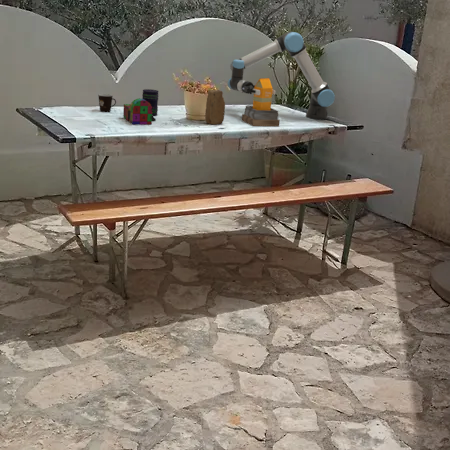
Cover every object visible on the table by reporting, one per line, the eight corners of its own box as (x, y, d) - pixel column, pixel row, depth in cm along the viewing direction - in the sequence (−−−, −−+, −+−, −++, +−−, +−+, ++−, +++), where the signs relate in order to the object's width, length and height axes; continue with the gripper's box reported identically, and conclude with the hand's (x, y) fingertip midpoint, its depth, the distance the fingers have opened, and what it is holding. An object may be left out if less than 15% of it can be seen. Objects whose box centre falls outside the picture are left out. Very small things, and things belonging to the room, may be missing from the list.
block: (208, 124, 360) (211, 91, 353) (203, 122, 367) (206, 89, 360) (224, 124, 365) (227, 91, 358) (219, 122, 371) (222, 89, 364)
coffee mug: (95, 110, 372) (95, 94, 368) (108, 109, 377) (108, 93, 373) (104, 113, 363) (104, 97, 360) (116, 113, 368) (117, 97, 365)
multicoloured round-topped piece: (160, 125, 348) (161, 100, 343) (132, 125, 341) (133, 100, 336) (147, 116, 369) (148, 93, 364) (120, 116, 362) (121, 92, 357)
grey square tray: (241, 120, 384) (243, 105, 381) (266, 120, 391) (268, 106, 387) (252, 126, 369) (254, 110, 365) (278, 126, 375) (280, 111, 372)
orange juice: (270, 111, 377) (273, 79, 370) (260, 112, 371) (263, 79, 364) (261, 109, 382) (265, 77, 375) (252, 109, 377) (254, 77, 370)
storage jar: (138, 114, 372) (139, 89, 367) (149, 112, 380) (150, 88, 375) (150, 116, 367) (151, 92, 362) (160, 115, 375) (162, 91, 370)
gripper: (259, 92, 394) (281, 98, 378) (230, 93, 380) (251, 99, 364) (260, 80, 392) (282, 86, 376) (231, 81, 377) (252, 86, 362)
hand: (267, 92), depth 370 cm, fingers open, 12 cm apart
